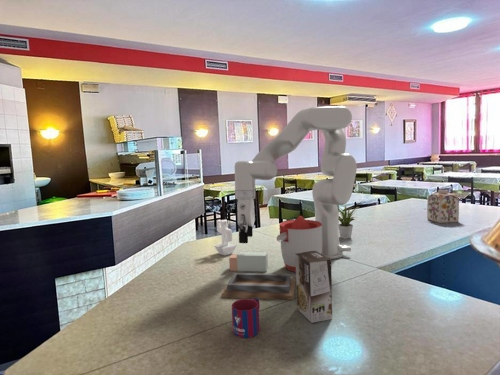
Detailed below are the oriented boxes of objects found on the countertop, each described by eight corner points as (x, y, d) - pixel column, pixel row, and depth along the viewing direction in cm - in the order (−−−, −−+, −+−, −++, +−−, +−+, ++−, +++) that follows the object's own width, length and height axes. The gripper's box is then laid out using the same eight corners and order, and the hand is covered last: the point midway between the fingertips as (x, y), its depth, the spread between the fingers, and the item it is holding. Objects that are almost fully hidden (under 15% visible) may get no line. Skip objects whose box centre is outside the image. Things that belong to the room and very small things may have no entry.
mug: (227, 333, 83) (226, 306, 83) (251, 316, 91) (250, 292, 90) (249, 341, 79) (247, 313, 79) (271, 322, 87) (271, 297, 87)
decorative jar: (426, 219, 199) (427, 189, 198) (444, 218, 201) (445, 188, 199) (440, 223, 188) (440, 191, 186) (459, 222, 189) (460, 190, 187)
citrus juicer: (269, 266, 130) (267, 215, 128) (307, 258, 137) (306, 210, 135) (289, 279, 116) (288, 222, 114) (331, 270, 123) (330, 216, 120)
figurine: (224, 257, 143) (223, 222, 141) (213, 253, 150) (211, 220, 149) (238, 253, 147) (236, 220, 146) (226, 249, 155) (224, 217, 153)
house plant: (351, 232, 177) (350, 201, 175) (368, 238, 164) (367, 205, 162) (327, 235, 173) (326, 203, 171) (342, 241, 160) (342, 207, 158)
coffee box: (333, 319, 88) (332, 259, 86) (311, 323, 86) (309, 262, 84) (316, 304, 96) (315, 249, 95) (296, 308, 95) (294, 252, 93)
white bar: (267, 267, 128) (267, 252, 128) (266, 271, 125) (266, 255, 124) (232, 267, 131) (231, 252, 130) (229, 270, 127) (229, 255, 126)
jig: (295, 281, 114) (295, 272, 113) (293, 299, 100) (293, 289, 100) (232, 279, 118) (231, 270, 117) (221, 297, 104) (221, 287, 104)
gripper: (251, 197, 116) (251, 246, 117) (258, 191, 132) (259, 234, 134) (229, 197, 117) (230, 245, 118) (240, 191, 134) (240, 234, 135)
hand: (246, 239), depth 126 cm, fingers open, 9 cm apart
